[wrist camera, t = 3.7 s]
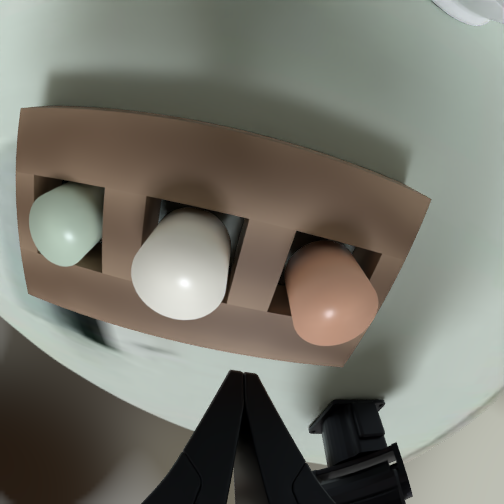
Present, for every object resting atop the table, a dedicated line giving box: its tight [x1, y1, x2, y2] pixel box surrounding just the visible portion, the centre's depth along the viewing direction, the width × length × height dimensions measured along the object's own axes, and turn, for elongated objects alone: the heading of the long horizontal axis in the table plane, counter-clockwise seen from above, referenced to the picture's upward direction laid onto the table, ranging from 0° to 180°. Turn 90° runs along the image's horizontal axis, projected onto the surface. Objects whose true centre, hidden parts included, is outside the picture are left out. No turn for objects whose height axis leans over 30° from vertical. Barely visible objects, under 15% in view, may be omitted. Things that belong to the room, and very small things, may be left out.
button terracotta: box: [284, 240, 378, 346], centre depth 14 cm, size 4×4×4 cm
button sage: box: [29, 181, 105, 267], centre depth 13 cm, size 4×4×4 cm
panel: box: [16, 106, 431, 367], centre depth 15 cm, size 12×22×3 cm, turn 75°
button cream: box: [131, 207, 231, 320], centre depth 13 cm, size 4×4×4 cm
